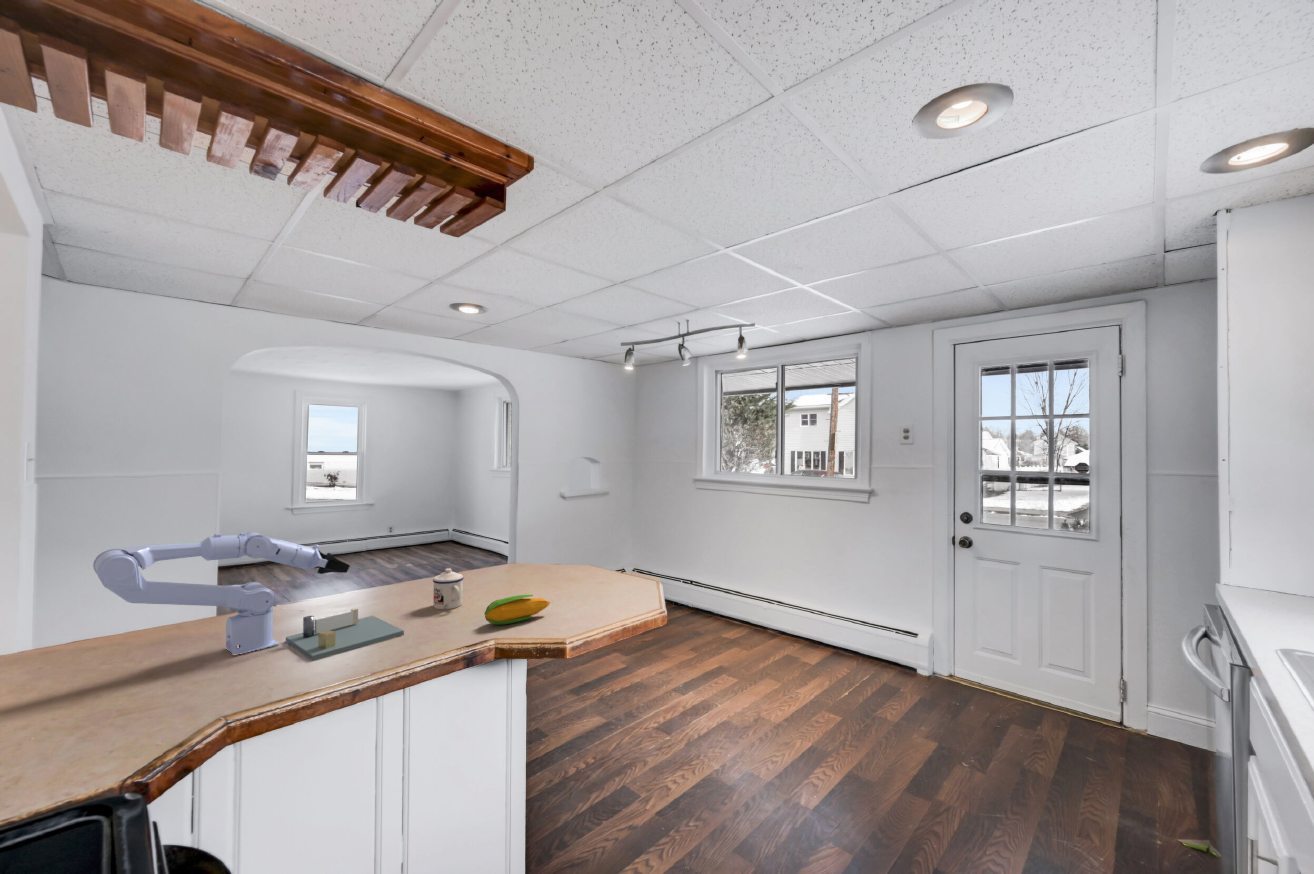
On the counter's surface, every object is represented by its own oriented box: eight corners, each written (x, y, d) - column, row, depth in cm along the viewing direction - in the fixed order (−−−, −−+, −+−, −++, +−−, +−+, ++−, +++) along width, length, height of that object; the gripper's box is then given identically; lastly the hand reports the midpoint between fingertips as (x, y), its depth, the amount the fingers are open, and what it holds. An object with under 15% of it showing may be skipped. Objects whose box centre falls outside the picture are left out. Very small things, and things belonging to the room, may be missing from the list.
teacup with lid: (428, 605, 173) (428, 568, 173) (455, 599, 179) (456, 564, 179) (443, 614, 164) (443, 575, 164) (472, 607, 170) (472, 570, 170)
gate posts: (322, 649, 134) (322, 629, 133) (301, 636, 142) (301, 617, 142) (336, 646, 136) (336, 626, 136) (315, 632, 145) (315, 614, 145)
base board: (312, 660, 130) (312, 655, 130) (285, 641, 142) (285, 636, 142) (403, 634, 147) (403, 630, 147) (372, 619, 159) (372, 615, 159)
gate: (316, 633, 143) (316, 618, 143) (314, 632, 144) (314, 617, 144) (358, 623, 151) (358, 608, 151) (355, 621, 152) (355, 607, 152)
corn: (480, 597, 156) (543, 585, 168) (479, 623, 156) (542, 609, 169) (490, 605, 150) (555, 592, 162) (489, 632, 150) (554, 617, 163)
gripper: (308, 542, 141) (359, 556, 151) (290, 536, 151) (338, 549, 160) (295, 569, 139) (347, 581, 148) (277, 561, 148) (327, 573, 158)
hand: (342, 566), depth 154 cm, fingers open, 7 cm apart
